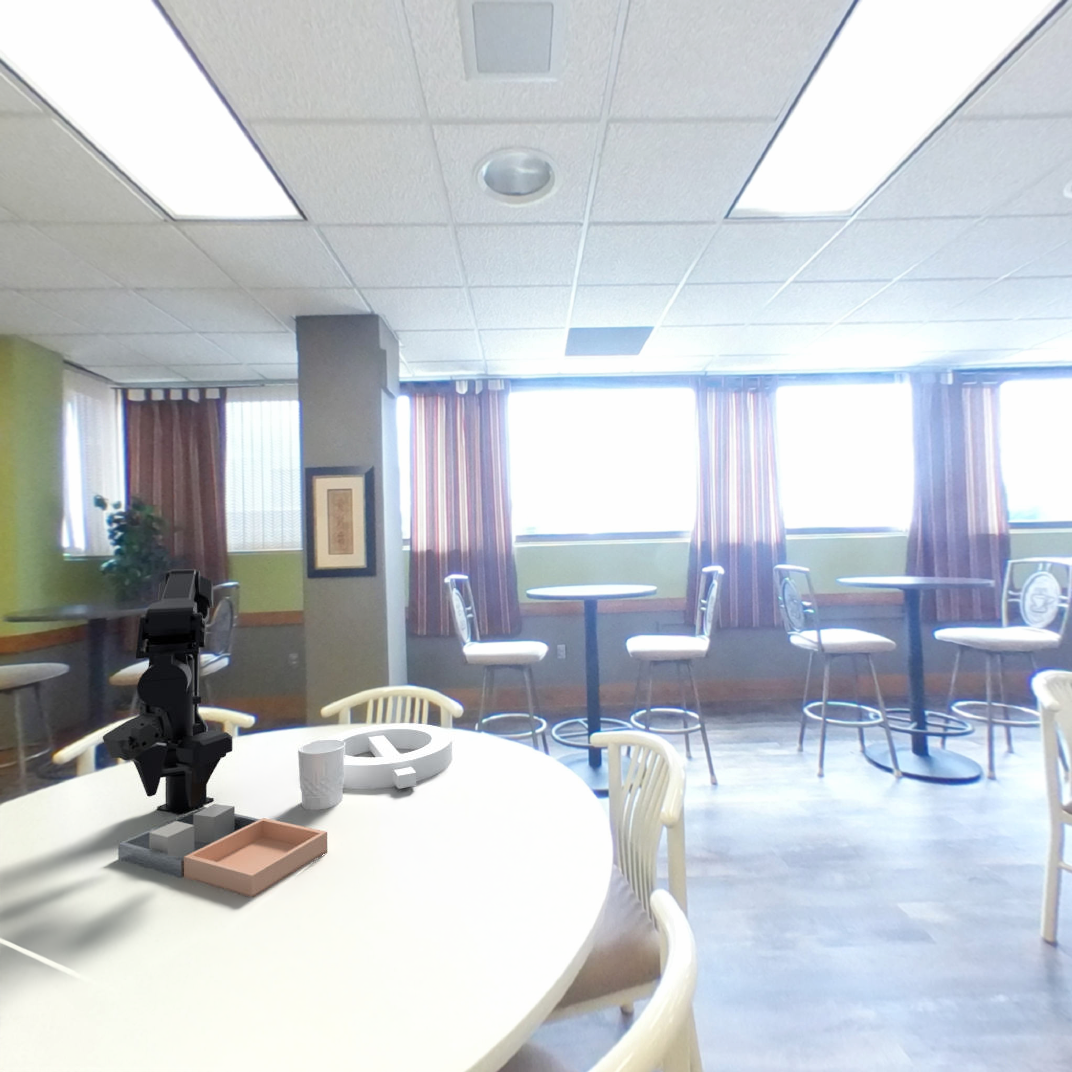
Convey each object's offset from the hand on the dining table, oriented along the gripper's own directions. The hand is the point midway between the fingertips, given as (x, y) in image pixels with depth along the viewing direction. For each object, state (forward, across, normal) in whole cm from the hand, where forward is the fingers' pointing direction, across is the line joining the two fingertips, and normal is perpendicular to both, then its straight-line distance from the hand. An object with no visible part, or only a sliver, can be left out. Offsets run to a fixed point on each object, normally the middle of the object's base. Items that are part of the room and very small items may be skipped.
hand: (172, 800), depth 87 cm
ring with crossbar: (+9, +3, +44) cm, 45 cm away
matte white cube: (+8, 0, 0) cm, 8 cm away
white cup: (+9, +6, +23) cm, 26 cm away
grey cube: (+8, 0, +7) cm, 11 cm away
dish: (+8, +14, +3) cm, 16 cm away
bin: (+8, 0, +3) cm, 9 cm away
